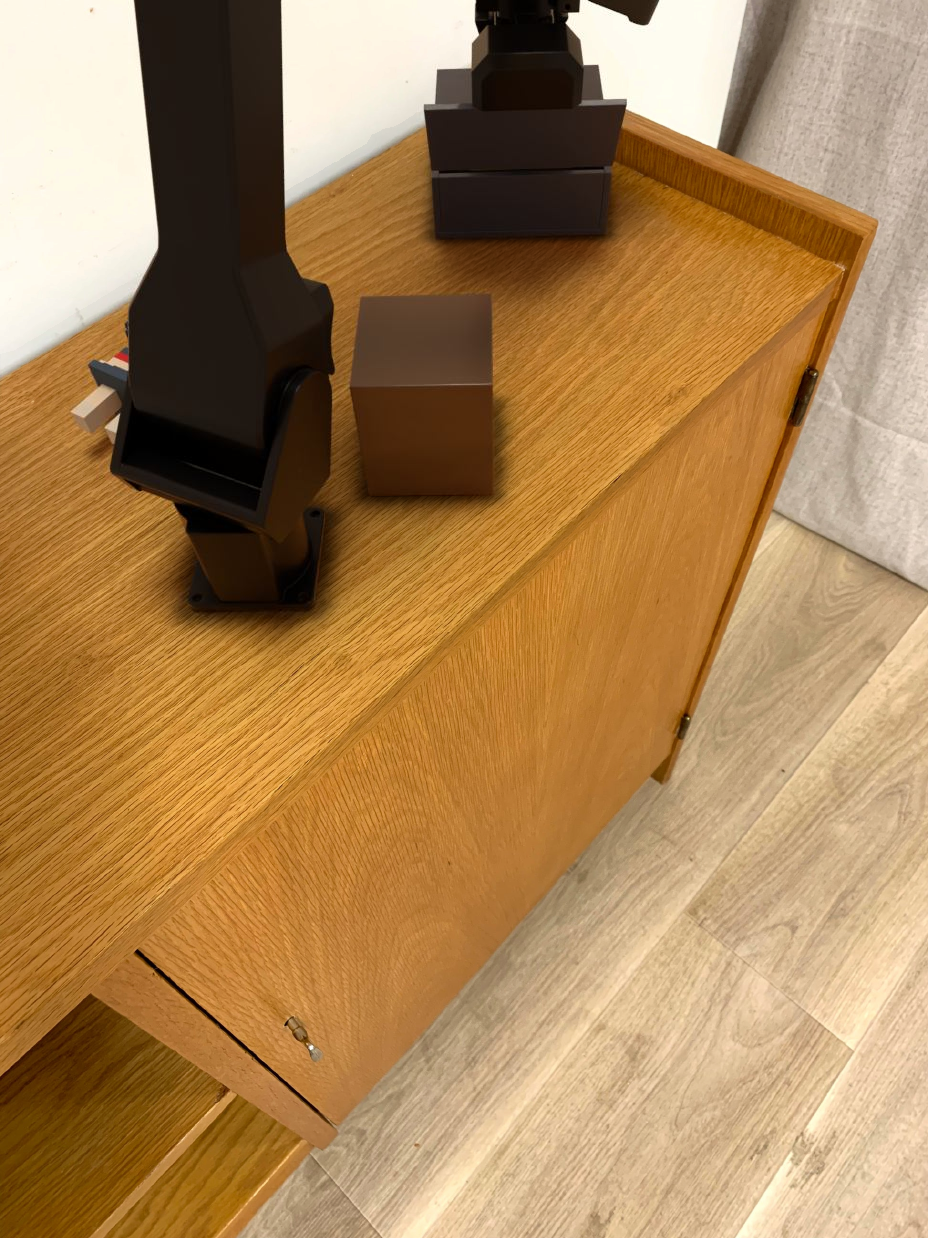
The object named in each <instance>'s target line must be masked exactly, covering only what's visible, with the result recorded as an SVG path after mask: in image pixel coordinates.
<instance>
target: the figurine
mask: <svg viewBox="0 0 928 1238" xmlns="http://www.w3.org/2000/svg"><path fill="white" fill-rule="evenodd" d="M126 319H127V321H125V322H124V323H123V324H124V327H125V330H124V333H125V336H126V338H127V339H128V317H126ZM87 366H88V371H89V374H90V376H91V378H92V380H93V381H94V384H95V386H96V387H97V388H95V390H94V391H92V393H90V394H89V395H87V396H86V397H85V398H84V399H83V400H82V401H81V402H79V404H78V405H76V406H75V407H74V408H73V409H72V410H70V415H71V416H72V418H73V420H74V422H75V423H76V425H77V427H78V429H81V430H83V431H85V432H87V433H89V434H92V435H93V433H95V432H96V431H97V430H98V429H99V428H100V427H101V426H102V425H104V423H106V422H107V421H108V420H109V419H110V418H111V417H113V415H116V416H115V417H114V418H113V419H112V420H111V421H110V422H109V423H108V424H106V425H105V426H104V427H103V429H104V431H105V433H106V435H107V436H108V438H109V441H110V442H111V444H112V445H114V442H115V437H116V432H117V427H118V422H119V416H120V411H121V406H122V401H123V396H124V390H125V385H126V380H127V375H128V346H124V347H123V348H122V349H121V350H119V352H118V353H116V355H114V356H113V357H112V358H111V359H109V360H108V361H106V360H103V359H100V360H96V359H95V358H94V359H92V360H91V361H90V362H89V363H87Z"/></svg>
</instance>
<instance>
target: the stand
mask: <svg viewBox="0 0 928 1238" xmlns="http://www.w3.org/2000/svg"><path fill="white" fill-rule="evenodd" d="M493 318H494V317H493V294H492V293H459V294H457V293H456V294H455V293H454V294H450V293H449V294H409V295H406V294H403V295H402V294H401V295H362V296H360V297H359V305H358V313H357V319H356V327H355V329H356V330H355V338H354V345H353V354H352V362H351V370H350V378H349V385H348V387H349V393H350V398H351V403H352V404H351V405H352V409H353V414H354V415H353V416H354V420H355V427H356V431H357V437H358V442H359V447H360V453H361V454H360V455H361V458H362V464H363V470H364V474H365V480H366V486H367V491H368V495H369V496H370V497H379V496H380V497H382V496H384V497H386V496H390V497H391V496H393V497H394V496H462V495H466V496H467V495H469V496H470V495H471V496H472V495H494V493H495V483H494V482H495V477H494V474H495V473H494V472H495V471H494V469H495V468H494V466H495V465H494V463H495V462H494V460H495V459H494V457H495V456H494V455H495V453H494V451H495V450H494V339H493V338H494V337H493V336H494V335H493V333H494V332H493V327H494V325H493V324H494V323H493V321H494V320H493Z"/></svg>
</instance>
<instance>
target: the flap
mask: <svg viewBox="0 0 928 1238" xmlns="http://www.w3.org/2000/svg"><path fill="white" fill-rule="evenodd" d="M627 107H628V99H627V98H605V99H604V98H603V99H600V100H582V104H580V105H578V106H576V107H575V108H573V109H552V110H516V111H480V110H478V109H476V108H474V107H472V103H454V104H435V103H424V104H423V115H424V123H425V131H426V139H427V147H428V154H429V163H430V171H431V172H432V171H444V170H484V169H525V168H565V167H605V166H611V167H613V166H614V162H615V158H616V153H617V149H618V146H619V145H618V144H619V139H620V136H621V132H622V127H623V124H624V120H625V114H626V110H627Z"/></svg>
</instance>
